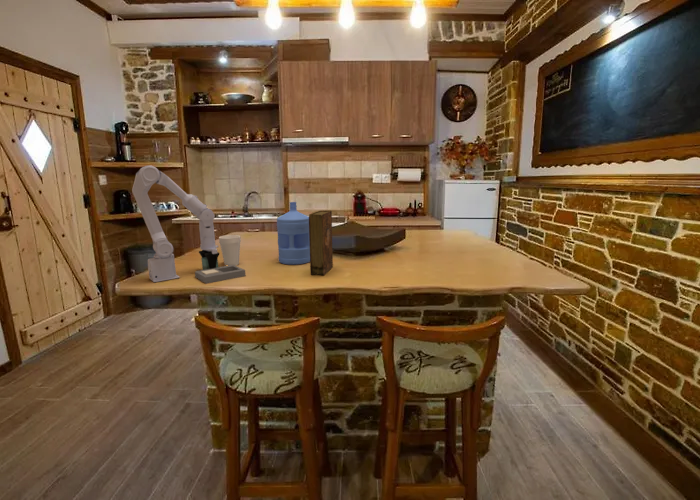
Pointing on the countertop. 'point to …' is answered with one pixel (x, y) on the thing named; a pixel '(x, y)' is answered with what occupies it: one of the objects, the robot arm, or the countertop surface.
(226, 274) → the frame
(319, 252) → the book
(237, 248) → the foam cup
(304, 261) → the water jug
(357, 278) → the countertop surface
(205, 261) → the block
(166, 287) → the countertop surface
